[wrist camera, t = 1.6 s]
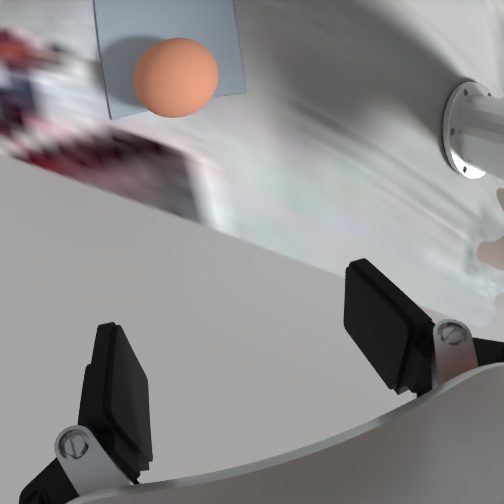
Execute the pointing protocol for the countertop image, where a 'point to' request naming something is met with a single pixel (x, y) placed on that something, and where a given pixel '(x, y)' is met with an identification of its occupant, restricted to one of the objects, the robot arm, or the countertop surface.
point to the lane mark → (158, 29)
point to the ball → (175, 77)
